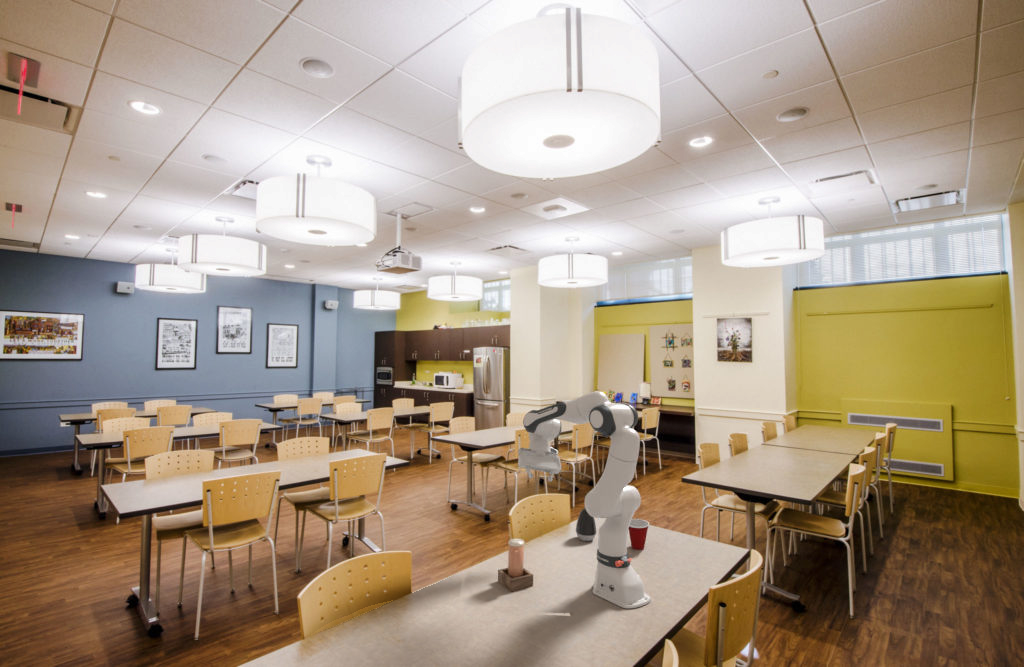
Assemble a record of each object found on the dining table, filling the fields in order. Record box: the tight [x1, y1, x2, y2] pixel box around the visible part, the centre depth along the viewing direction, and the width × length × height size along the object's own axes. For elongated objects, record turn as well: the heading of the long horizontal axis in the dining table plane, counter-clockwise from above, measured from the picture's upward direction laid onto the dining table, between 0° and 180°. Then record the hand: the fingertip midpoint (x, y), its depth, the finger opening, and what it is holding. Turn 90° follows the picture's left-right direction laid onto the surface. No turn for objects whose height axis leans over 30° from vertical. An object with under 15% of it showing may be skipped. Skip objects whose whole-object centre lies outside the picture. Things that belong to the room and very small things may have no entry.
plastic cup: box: [628, 518, 650, 551], centre depth 227 cm, size 11×11×12 cm
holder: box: [497, 567, 534, 593], centre depth 185 cm, size 10×10×5 cm
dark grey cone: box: [575, 507, 597, 542], centre depth 236 cm, size 10×10×15 cm
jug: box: [507, 538, 525, 579], centre depth 184 cm, size 9×6×16 cm
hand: (540, 479), depth 209 cm, fingers open, 8 cm apart
